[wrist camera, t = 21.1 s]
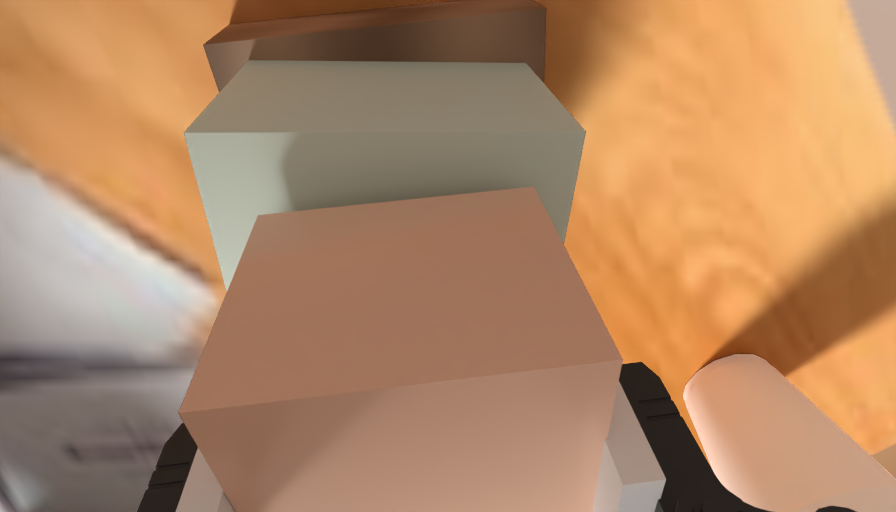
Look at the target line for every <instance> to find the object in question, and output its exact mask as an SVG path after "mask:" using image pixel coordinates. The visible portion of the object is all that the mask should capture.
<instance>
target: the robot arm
mask: <svg viewBox="0 0 896 512" xmlns="http://www.w3.org/2000/svg"><path fill="white" fill-rule="evenodd" d="M679 413H680V412H679V411H678V409H677V407H676V405H675V404H674V402H673V401H671V397H670V395H669V393H668V391H667V390H666V388H665V386H664V384H663V383H662V381H661V379H660V377H658V376H657V375H656V374H655V373H654V372H653V371H651V370H650V369H649V368H648V367H647V366H646V365H644V364H643V363H642V362H637V363H629V364H622V367H621V372H620V377H619V382H618V387H617V392H616V397H615V402H614V407H613V412H612V417H611V422H610V427H609V432H608V437H607V439H604V445H603V451H602V457H601V464H600V470H599V476H598V482H597V488H596V494H595V500H594V506H593V512H772V511H767V510H763V509H760V508H756V507H754V506H752V505H750V504H747V503H745V502H743V501H742V500H741V499H740V498H739V497H737V496H736V495H734V494H733V493H731V492H730V491H729V490H727V489H726V488H725V487H724V486H723V485H722V484H721V482H720V481H719V480H718V478H717V477H716V475H715V474H714V472H713V470H712V469H711V467H710V465H709V463H708V462H707V460H706V458H705V456H704V455H703V453H702V451H701V449H700V448H699V446H698V444H697V442H696V440H695V439H694V437H693V435H692V433H691V432H690V430H689V428H688V426H687V425H686V423H685V421H684V419H683V418H682V417H681V416H680V414H679ZM148 486H149V488H148V490H146V492H145V494H144V497H143V499H142V501H141V504H140V506H139V509H138V511H137V512H236V511H235V509H234V508H233V506H232V504H231V503H230V501H229V499H228V497H227V496H226V494H225V492H224V491H223V489H222V487H221V485H220V484H219V482H218V480H217V479H216V477H215V475H214V474H213V472H212V470H211V468H210V467H209V465H208V463H207V462H206V460H205V458H204V456H203V455H202V453H201V451H200V450H199V448H198V446H197V444H196V443H195V441H194V439H193V438H192V436H191V434H190V432H189V431H188V429H187V427H186V426H185V424H184V423H182V424H181V425H180V427H179V428H178V429H177V430H176V431H175V433H174V434H173V435H172V436H171V437H170V439H169V440H168V441H167V442H166V444H165V445H164V448H163V450H162V453H161V455H160V458H159V460H158V462H157V465H156V471H154V472H153V475H152V477H151V480H150V482H149V484H148ZM816 512H856V511H854V510H852V509H849V508H845V507H838V506H827V507H823V508H819V509H818V510H817V511H816Z"/></svg>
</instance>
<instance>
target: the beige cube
mask: <svg viewBox="0 0 896 512" xmlns="http://www.w3.org/2000/svg"><path fill="white" fill-rule="evenodd" d="M622 362H623V359H622V357H621V355H620V353H619V351H618V349H617V347H616V345H615V343H614V341H613V339H612V337H611V335H610V334H609V332H608V330H607V328H606V326H605V324H604V322H603V320H602V318H601V316H600V314H599V312H598V310H597V308H596V306H595V304H594V302H593V301H592V299H591V297H590V295H589V293H588V291H587V289H586V287H585V285H584V283H583V281H582V279H581V277H580V275H579V273H578V271H577V269H576V268H575V266H574V264H573V262H572V260H571V258H570V256H569V254H568V252H567V250H566V248H565V246H564V244H563V242H562V240H561V238H560V236H559V235H558V233H557V231H556V229H555V227H554V225H553V223H552V221H551V219H550V217H549V215H548V213H547V211H546V209H545V207H544V205H543V203H542V201H541V200H540V198H539V196H538V194H537V192H536V190H535V188H534V187H525V188H515V189H506V190H496V191H486V192H477V193H467V194H457V195H448V196H438V197H428V198H419V199H409V200H399V201H390V202H380V203H370V204H360V205H351V206H341V207H331V208H322V209H312V210H302V211H293V212H283V213H273V214H264V215H258V216H257V218H256V221H255V223H254V226H253V228H252V231H251V233H250V236H249V238H248V241H247V243H246V246H245V248H244V251H243V253H242V256H241V258H240V261H239V263H238V266H237V268H236V271H235V273H234V276H233V278H232V281H231V283H230V286H229V288H228V291H227V293H226V296H225V298H224V301H223V303H222V306H221V308H220V311H219V313H218V316H217V318H216V320H215V323H214V325H213V328H212V330H211V333H210V335H209V338H208V340H207V343H206V345H205V348H204V350H203V353H202V355H201V358H200V360H199V363H198V365H197V368H196V370H195V373H194V375H193V378H192V380H191V383H190V385H189V388H188V390H187V393H186V395H185V398H184V400H183V403H182V405H181V408H180V410H179V413H178V414H179V415H180V417H181V419H182V420H183V422H184V424H185V426H186V427H187V429H188V431H189V432H190V434H191V436H192V438H193V439H194V441H195V443H196V444H197V446H198V448H199V450H200V451H201V453H202V455H203V456H204V458H205V460H206V462H207V463H208V465H209V467H210V468H211V470H212V472H213V474H214V475H215V477H216V479H217V480H218V482H219V484H220V485H221V487H222V489H223V491H224V492H225V494H226V496H227V497H228V499H229V501H230V503H231V504H232V506H233V508H234V509H235V511H236V512H593V506H594V500H595V494H596V488H597V482H598V476H599V470H600V464H601V457H602V451H603V445H604V439H607V437H608V432H609V427H610V422H611V417H612V412H613V407H614V402H615V397H616V392H617V387H618V382H619V377H620V372H621V367H622Z"/></svg>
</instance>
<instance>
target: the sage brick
mask: <svg viewBox="0 0 896 512" xmlns="http://www.w3.org/2000/svg"><path fill="white" fill-rule="evenodd" d="M585 134H586V131H585V130H584V129H583V128H582V127H581V125H580V124H579V123H578V122H577V121H576V120H575V119H574V117H573V116H572V115H571V114H570V113H569V112H568V111H567V109H566V108H565V107H564V106H563V105H562V104H561V102H560V101H559V100H558V99H557V98H556V97H555V96H554V94H553V93H552V92H551V91H550V90H549V89H548V88H547V86H546V85H545V84H544V83H543V82H542V81H541V80H540V78H539V77H538V76H537V75H536V74H535V73H534V72H533V70H532V69H531V68H530V67H529V66H528V65H527V64H526V63H482V62H384V61H286V60H248V61H247V62H246V64H245V65H244V66H243V67H242V68H241V69H240V70H239V71H238V73H237V74H236V75H235V76H234V77H233V78H232V79H231V80H230V81H229V83H228V84H227V85H226V86H225V87H224V88H223V89H222V90H221V92H220V93H219V94H218V95H217V96H216V97H215V98H214V99H213V100H212V102H211V103H210V104H209V105H208V106H207V107H206V108H205V109H204V111H203V112H202V113H201V114H200V115H199V116H198V117H197V118H196V119H195V121H194V122H193V123H192V124H191V125H190V126H189V127H188V128H187V130H186V131H185V132H184V136H185V140H186V143H187V147H188V151H189V154H190V158H191V162H192V165H193V169H194V173H195V177H196V180H197V184H198V188H199V191H200V195H201V199H202V202H203V206H204V210H205V213H206V217H207V221H208V224H209V228H210V232H211V236H212V239H213V243H214V247H215V250H216V254H217V258H218V261H219V265H220V269H221V272H222V276H223V280H224V283H225V287H226V291H228V288H229V286H230V283H231V281H232V278H233V276H234V273H235V271H236V268H237V266H238V263H239V261H240V258H241V256H242V253H243V251H244V248H245V246H246V243H247V241H248V238H249V236H250V233H251V231H252V228H253V226H254V223H255V221H256V218H257V216H258V215H264V214H273V213H283V212H293V211H302V210H312V209H322V208H331V207H341V206H351V205H360V204H370V203H380V202H390V201H399V200H409V199H419V198H428V197H438V196H448V195H457V194H467V193H477V192H486V191H496V190H506V189H515V188H525V187H534V188H535V190H536V192H537V194H538V196H539V198H540V200H541V201H542V203H543V205H544V207H545V209H546V211H547V213H548V215H549V217H550V219H551V221H552V223H553V225H554V227H555V229H556V231H557V233H558V235H559V236H560V238H561V240H562V242H563V244H564V241H565V236H566V231H567V226H568V221H569V216H570V211H571V206H572V200H573V195H574V190H575V185H576V180H577V175H578V170H579V165H580V159H581V154H582V149H583V144H584V139H585Z"/></svg>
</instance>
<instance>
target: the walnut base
mask: <svg viewBox="0 0 896 512" xmlns="http://www.w3.org/2000/svg"><path fill="white" fill-rule="evenodd" d="M545 32H546V8H545V7H543V6H542V5H540V4H539V3H537V2H536V1H534V0H458V1H449V2H439V3H430V4H420V5H410V6H401V7H391V8H382V9H372V10H363V11H353V12H344V13H334V14H324V15H315V16H305V17H296V18H286V19H277V20H267V21H258V22H248V23H239V24H229V25H228V26H227V27H225V28H224V29H223V30H221V31H220V32H219V33H218V34H216V35H215V36H214V37H212V38H211V39H210V40H209V41H207V42H206V43H205V44H203V46H204V49H205V52H206V55H207V58H208V61H209V64H210V67H211V70H212V73H213V76H214V78H215V81H216V84H217V87H218V90H219V93H220V92H221V90H222V89H223V88H224V87H225V86H226V85H227V84H228V83H229V81H230V80H231V79H232V78H233V77H234V76H235V75H236V74H237V73H238V71H239V70H240V69H241V68H242V67H243V66H244V65H245V64H246V62H247V61H248V60H286V61H384V62H482V63H526V64H527V65H528V66H529V67H530V68H531V69H532V70H533V72H534V73H535V74H536V75H537V76H538V77H539V78H540V80H541V81H542V82H543V83H544V66H545Z"/></svg>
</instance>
